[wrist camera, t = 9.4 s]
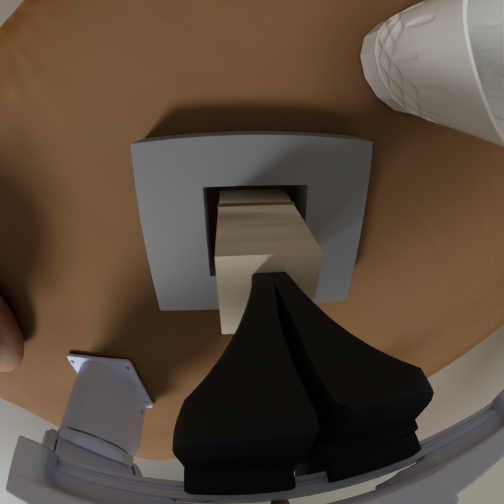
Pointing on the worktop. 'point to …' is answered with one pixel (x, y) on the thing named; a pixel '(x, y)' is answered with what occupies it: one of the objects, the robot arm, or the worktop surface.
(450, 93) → the white cup
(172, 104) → the worktop surface
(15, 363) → the ceramic jug
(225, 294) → the peg
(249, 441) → the robot arm
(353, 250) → the socket board
